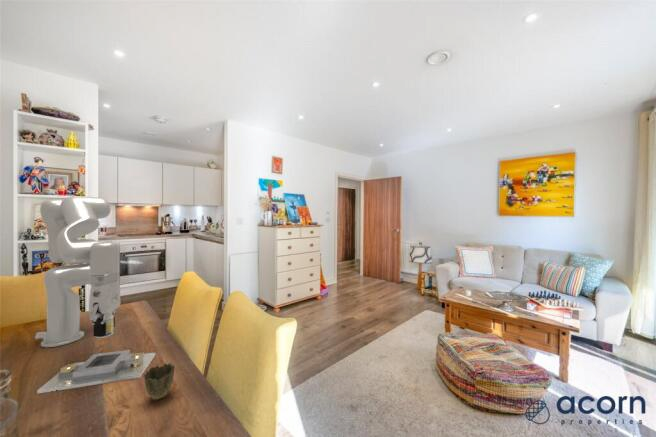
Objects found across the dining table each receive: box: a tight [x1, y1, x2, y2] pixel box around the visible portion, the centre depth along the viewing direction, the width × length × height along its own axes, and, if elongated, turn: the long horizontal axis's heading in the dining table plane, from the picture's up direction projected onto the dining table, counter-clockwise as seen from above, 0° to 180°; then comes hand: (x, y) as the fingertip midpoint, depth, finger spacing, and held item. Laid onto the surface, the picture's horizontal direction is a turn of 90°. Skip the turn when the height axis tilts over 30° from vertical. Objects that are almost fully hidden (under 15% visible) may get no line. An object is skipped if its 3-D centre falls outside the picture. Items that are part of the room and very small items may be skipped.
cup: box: [143, 362, 175, 401], centre depth 73 cm, size 8×7×8 cm
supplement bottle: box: [94, 312, 115, 339], centre depth 84 cm, size 5×5×8 cm
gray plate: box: [36, 349, 156, 395], centre depth 85 cm, size 26×14×4 cm, turn 108°
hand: (104, 331), depth 84 cm, fingers closed on supplement bottle, 4 cm apart
